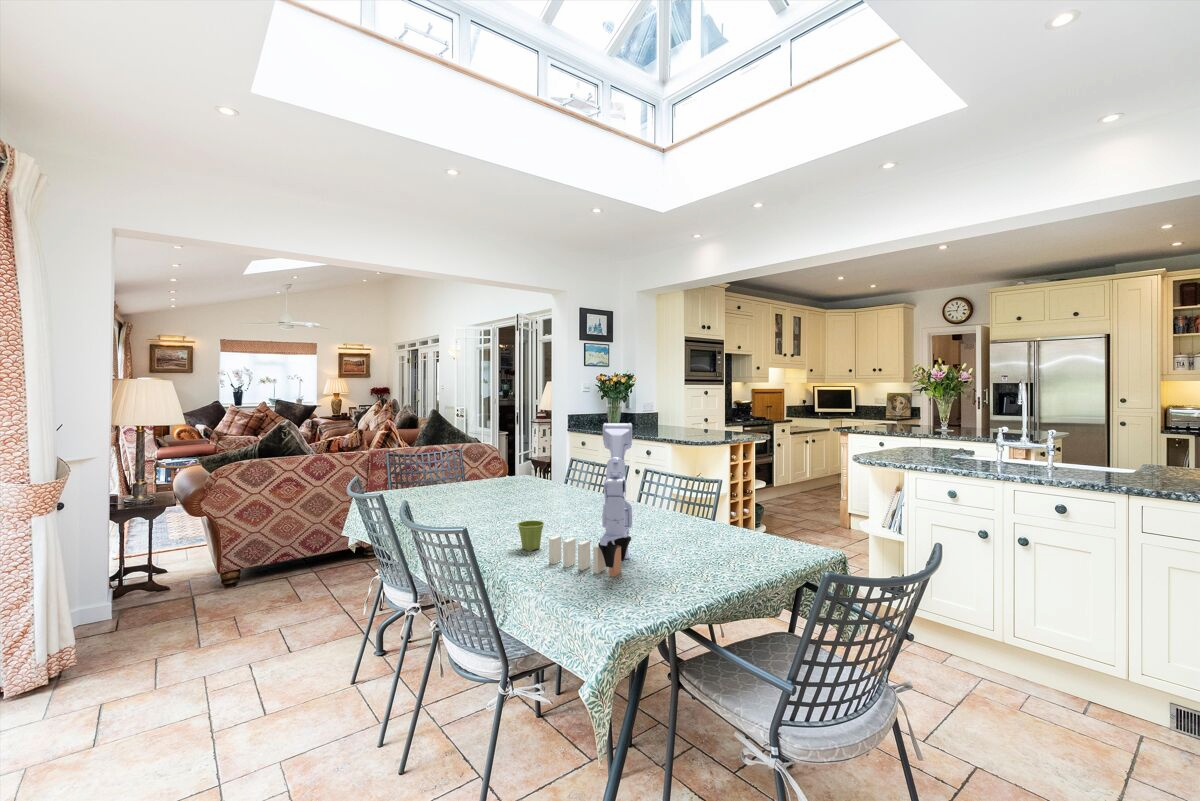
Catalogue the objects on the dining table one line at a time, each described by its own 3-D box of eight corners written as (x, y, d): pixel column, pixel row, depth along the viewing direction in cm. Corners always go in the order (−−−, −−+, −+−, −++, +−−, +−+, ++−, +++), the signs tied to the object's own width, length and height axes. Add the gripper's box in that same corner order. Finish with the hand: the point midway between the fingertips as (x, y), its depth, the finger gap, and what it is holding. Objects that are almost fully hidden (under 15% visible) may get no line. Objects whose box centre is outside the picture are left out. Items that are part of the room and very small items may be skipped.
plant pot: (515, 552, 183) (514, 526, 183) (520, 544, 192) (519, 520, 192) (542, 552, 183) (542, 527, 182) (546, 544, 192) (545, 520, 192)
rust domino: (609, 576, 159) (609, 549, 159) (616, 571, 163) (616, 545, 163) (613, 577, 159) (613, 550, 158) (621, 572, 162) (621, 546, 162)
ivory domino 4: (593, 572, 162) (593, 546, 162) (600, 568, 166) (600, 542, 166) (597, 573, 161) (597, 547, 161) (605, 569, 165) (605, 543, 165)
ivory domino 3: (578, 569, 165) (577, 543, 165) (585, 565, 169) (585, 540, 169) (582, 570, 164) (582, 544, 164) (590, 566, 168) (590, 541, 168)
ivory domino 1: (549, 563, 171) (548, 538, 171) (557, 559, 175) (557, 535, 174) (553, 564, 170) (553, 539, 170) (561, 560, 174) (561, 536, 174)
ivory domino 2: (563, 566, 168) (563, 541, 168) (571, 562, 172) (571, 537, 172) (567, 567, 167) (567, 542, 167) (575, 563, 171) (575, 538, 171)
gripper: (614, 525, 152) (614, 572, 153) (638, 515, 165) (638, 559, 165) (593, 522, 156) (593, 568, 156) (617, 512, 168) (617, 555, 169)
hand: (615, 563), depth 161 cm, fingers open, 6 cm apart
